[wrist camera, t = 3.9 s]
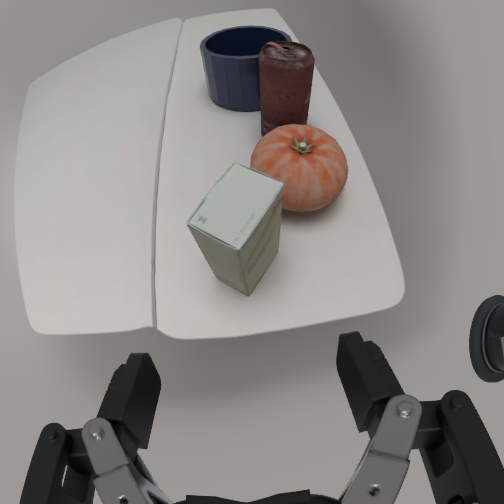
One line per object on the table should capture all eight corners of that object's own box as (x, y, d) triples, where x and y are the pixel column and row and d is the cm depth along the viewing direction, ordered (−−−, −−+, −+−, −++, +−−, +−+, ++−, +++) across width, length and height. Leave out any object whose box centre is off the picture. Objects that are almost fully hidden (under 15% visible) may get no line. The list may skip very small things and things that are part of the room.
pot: (269, 64, 44) (269, 21, 34) (303, 101, 39) (308, 50, 30) (201, 80, 43) (192, 36, 33) (222, 120, 38) (212, 67, 28)
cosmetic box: (249, 297, 28) (238, 256, 17) (213, 276, 29) (182, 224, 18) (279, 248, 30) (287, 182, 19) (245, 229, 31) (234, 158, 20)
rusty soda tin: (276, 114, 38) (277, 34, 25) (312, 132, 36) (324, 49, 23) (251, 136, 36) (244, 50, 23) (289, 156, 35) (296, 66, 22)
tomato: (296, 243, 30) (305, 206, 23) (234, 183, 33) (226, 138, 26) (356, 190, 32) (375, 149, 25) (295, 141, 36) (300, 97, 28)
